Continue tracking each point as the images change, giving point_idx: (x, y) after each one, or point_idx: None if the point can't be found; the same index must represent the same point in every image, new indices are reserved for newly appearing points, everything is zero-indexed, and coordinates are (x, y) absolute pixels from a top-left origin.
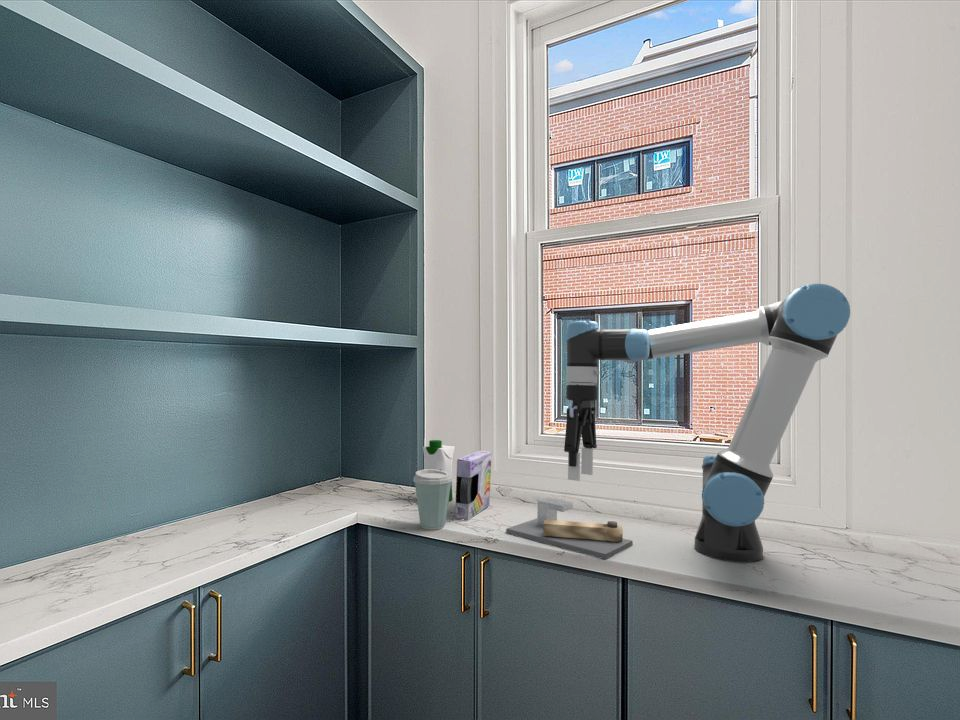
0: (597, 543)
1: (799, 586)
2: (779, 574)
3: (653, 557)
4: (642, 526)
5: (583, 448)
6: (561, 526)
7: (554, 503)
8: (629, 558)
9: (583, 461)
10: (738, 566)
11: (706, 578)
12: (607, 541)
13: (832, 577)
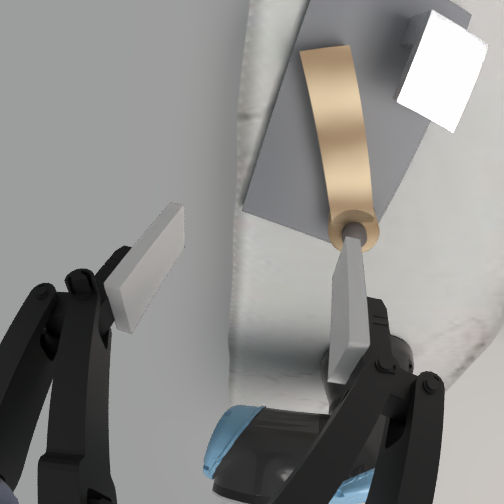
0: (308, 187)
1: (262, 389)
2: (294, 386)
3: (299, 280)
4: (494, 263)
5: (345, 348)
6: (311, 103)
7: (418, 70)
8: (273, 244)
9: (345, 287)
10: (305, 363)
11: (237, 330)
12: None
13: (305, 411)
